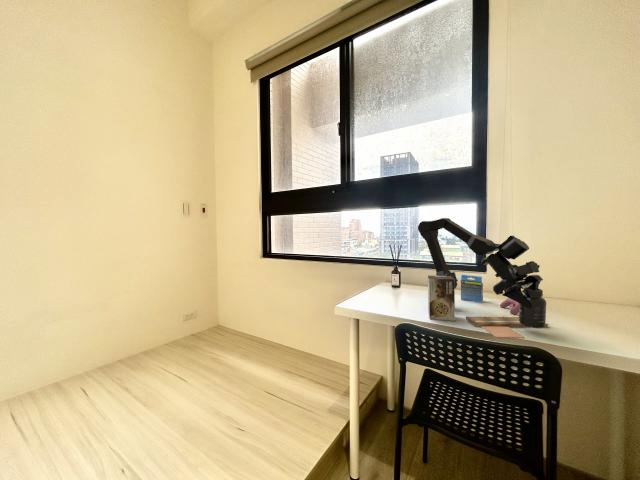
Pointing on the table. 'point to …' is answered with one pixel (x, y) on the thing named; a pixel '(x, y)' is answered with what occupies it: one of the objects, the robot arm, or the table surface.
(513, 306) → the video game controller
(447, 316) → the coffee box
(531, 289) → the supplement bottle
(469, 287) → the label tape box
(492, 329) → the end pad
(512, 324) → the walnut board
